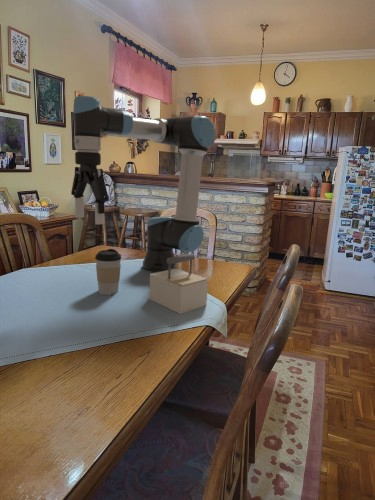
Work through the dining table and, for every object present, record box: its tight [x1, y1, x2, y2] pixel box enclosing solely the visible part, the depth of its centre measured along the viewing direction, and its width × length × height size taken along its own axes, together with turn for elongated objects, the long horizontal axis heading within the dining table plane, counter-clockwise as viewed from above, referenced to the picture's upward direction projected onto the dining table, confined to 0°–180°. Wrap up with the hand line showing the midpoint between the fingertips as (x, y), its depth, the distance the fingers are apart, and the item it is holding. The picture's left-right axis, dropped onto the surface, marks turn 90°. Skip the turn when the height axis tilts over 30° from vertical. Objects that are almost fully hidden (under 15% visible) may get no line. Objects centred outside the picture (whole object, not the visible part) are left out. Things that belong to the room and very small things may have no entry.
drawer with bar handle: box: [166, 253, 208, 287], centre depth 116 cm, size 11×8×8 cm
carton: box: [149, 268, 209, 315], centre depth 121 cm, size 12×17×9 cm
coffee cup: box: [94, 248, 122, 295], centre depth 127 cm, size 9×9×15 cm
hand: (89, 220), depth 113 cm, fingers open, 13 cm apart
